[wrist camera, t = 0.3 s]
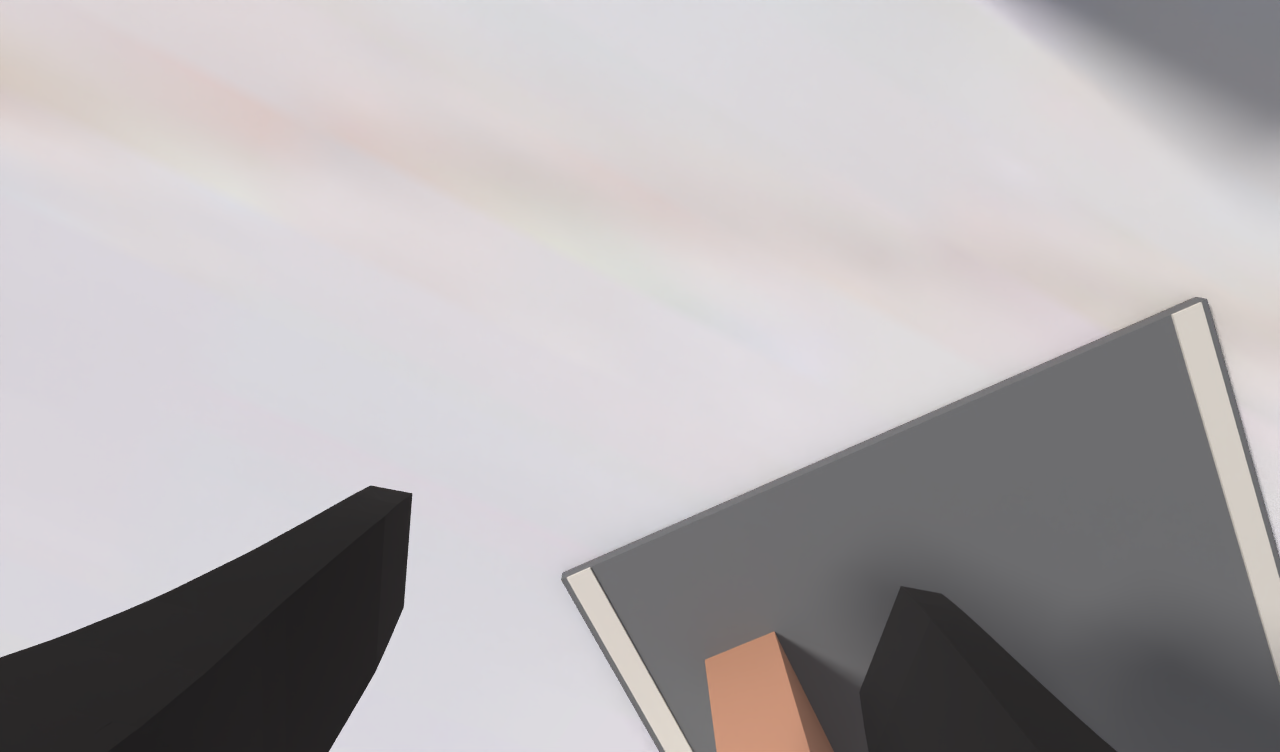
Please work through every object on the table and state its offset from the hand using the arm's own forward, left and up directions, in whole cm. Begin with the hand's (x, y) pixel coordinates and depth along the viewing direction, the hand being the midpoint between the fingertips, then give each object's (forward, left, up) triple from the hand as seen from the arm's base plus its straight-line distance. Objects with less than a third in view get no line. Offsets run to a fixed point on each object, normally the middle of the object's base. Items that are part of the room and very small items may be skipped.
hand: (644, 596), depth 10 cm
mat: (+5, -13, -11) cm, 18 cm away
